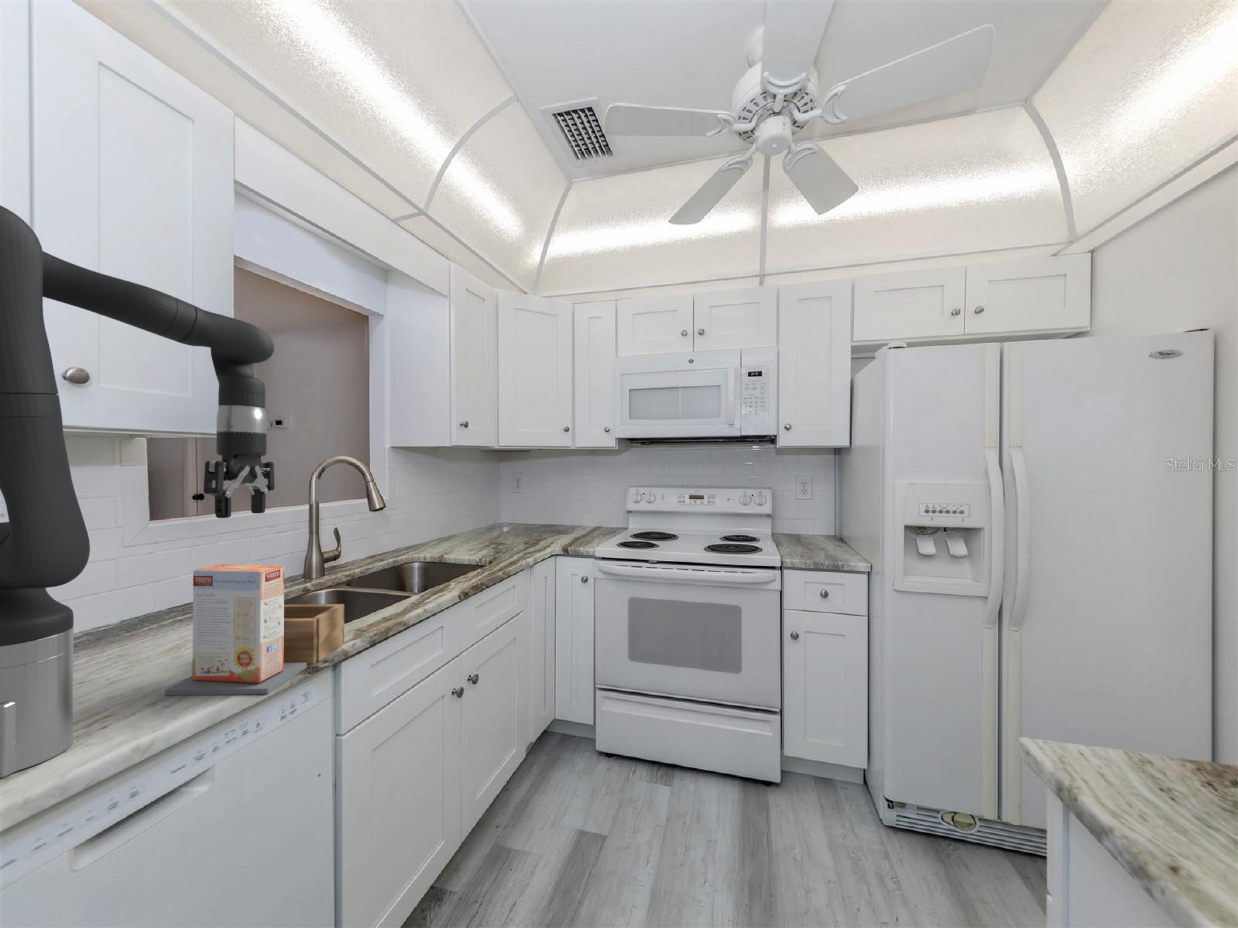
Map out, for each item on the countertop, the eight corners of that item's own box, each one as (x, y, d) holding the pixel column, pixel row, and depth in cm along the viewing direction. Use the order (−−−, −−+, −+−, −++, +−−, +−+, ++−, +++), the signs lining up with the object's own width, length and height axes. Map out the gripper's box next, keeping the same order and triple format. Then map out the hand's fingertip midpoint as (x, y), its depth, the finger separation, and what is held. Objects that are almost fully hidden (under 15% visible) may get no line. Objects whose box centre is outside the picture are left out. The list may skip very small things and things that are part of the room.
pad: (267, 694, 84) (267, 688, 84) (164, 695, 83) (164, 689, 83) (306, 667, 95) (306, 662, 95) (215, 668, 94) (216, 663, 94)
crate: (315, 663, 97) (315, 620, 97) (219, 664, 96) (220, 621, 96) (345, 642, 108) (346, 604, 108) (260, 643, 107) (260, 604, 107)
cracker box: (285, 670, 91) (286, 564, 91) (258, 685, 85) (259, 571, 85) (221, 667, 93) (222, 562, 93) (190, 681, 87) (191, 569, 87)
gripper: (232, 428, 82) (232, 519, 82) (287, 433, 96) (286, 511, 96) (189, 428, 82) (188, 519, 82) (250, 433, 96) (249, 511, 96)
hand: (241, 515), depth 89 cm, fingers open, 8 cm apart
